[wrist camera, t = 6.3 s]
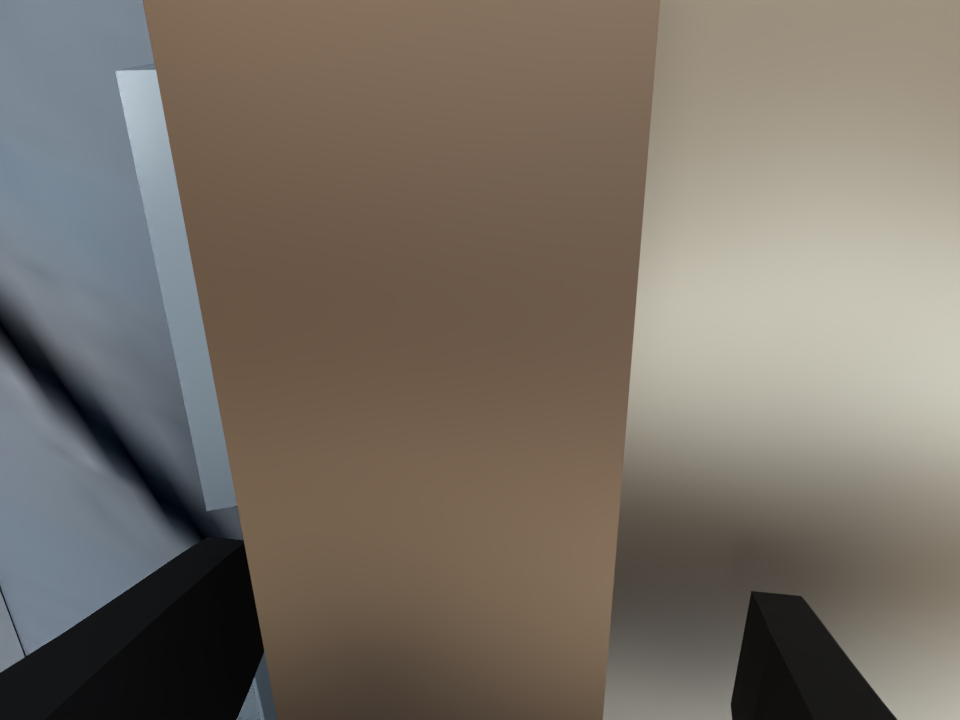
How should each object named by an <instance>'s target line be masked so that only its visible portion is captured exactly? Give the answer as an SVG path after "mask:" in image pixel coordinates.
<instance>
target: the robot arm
mask: <svg viewBox="0 0 960 720" xmlns="http://www.w3.org/2000/svg"><path fill="white" fill-rule="evenodd" d="M263 654H264V646H263V641H262V636H261V630H260V625H259V620H258V614H257V609H256V603H255V598H254V593H253V587H252V582H251V577H250V571H249V566H248V561H247V555H246V550H245V545H244V540H234V539H224V538H214V537H207V538H205V539H204V540H202V541H200V542H199V543H197V544H196V545H194V546H192V547H191V548H189V549H188V550H186V551H185V552H183V553H182V554H180V555H179V556H177V557H176V558H174V559H173V560H171V561H170V562H168V563H167V564H165V565H164V566H162V567H161V568H159V569H158V570H156V571H155V572H153V573H152V574H150V575H149V576H147V577H146V578H145V579H143V580H142V581H140V582H139V583H137V584H136V585H134V586H133V587H131V588H130V589H128V590H127V591H125V592H124V593H123V594H121V595H120V596H118V597H117V598H115V599H114V600H112V601H111V602H109V603H108V604H106V605H105V606H103V607H102V608H100V609H99V610H97V611H96V612H94V613H93V614H91V615H90V616H88V617H87V618H85V619H84V620H82V621H81V622H79V623H78V624H76V625H75V626H73V627H72V628H70V629H69V630H67V631H66V632H64V633H63V634H61V635H60V636H58V637H56V638H55V639H53V640H52V641H50V642H48V643H47V644H45V645H44V646H42V647H40V648H39V649H37V650H36V651H34V652H32V653H31V654H29V655H28V656H26V657H24V658H23V659H21V660H20V661H18V662H16V663H15V664H13V665H12V666H10V667H8V668H7V669H5V670H4V671H2V672H0V720H236V719H237V717H238V715H239V713H240V710H241V708H242V706H243V703H244V701H245V699H246V696H247V694H248V692H249V689H250V687H251V684H252V682H253V679H254V677H255V674H256V672H257V669H258V667H259V664H260V661H261V659H262V656H263ZM731 713H732V720H897V718H896V717H895V716H894V715H893V714H892V712H891V711H890V710H889V709H888V707H887V706H886V705H885V704H884V702H883V701H882V700H881V699H880V697H879V696H878V695H877V694H876V692H875V691H874V690H873V688H872V687H871V686H870V685H869V683H868V682H867V681H866V679H865V678H864V677H863V676H862V674H861V673H860V672H859V670H858V669H857V668H856V667H855V665H854V664H853V663H852V661H851V660H850V659H849V657H848V656H847V655H846V653H845V652H844V651H843V650H842V648H841V647H840V646H839V644H838V643H837V642H836V640H835V639H834V638H833V636H832V635H831V634H830V632H829V631H828V630H827V628H826V627H825V626H824V624H823V623H822V622H821V620H820V619H819V618H818V616H817V615H816V614H815V612H814V611H813V610H812V608H811V607H810V606H809V604H808V603H807V602H806V601H805V600H804V599H803V597H802V596H797V595H787V594H777V593H767V592H757V591H751V596H750V601H749V607H748V612H747V617H746V623H745V628H744V634H743V639H742V645H741V650H740V655H739V661H738V666H737V672H736V677H735V683H734V688H733V694H732V699H731Z"/></svg>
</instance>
